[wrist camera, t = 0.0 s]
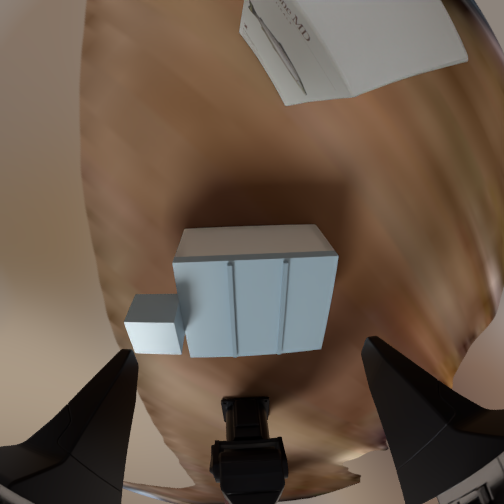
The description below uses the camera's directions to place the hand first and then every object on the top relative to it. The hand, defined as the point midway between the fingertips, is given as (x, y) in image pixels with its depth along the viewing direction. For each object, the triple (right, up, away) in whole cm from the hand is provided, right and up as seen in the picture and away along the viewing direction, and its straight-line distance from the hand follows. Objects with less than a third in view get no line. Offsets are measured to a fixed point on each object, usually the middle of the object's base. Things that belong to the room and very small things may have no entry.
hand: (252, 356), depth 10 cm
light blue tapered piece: (-1, 0, +12) cm, 12 cm away
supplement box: (+4, +19, +7) cm, 21 cm away
